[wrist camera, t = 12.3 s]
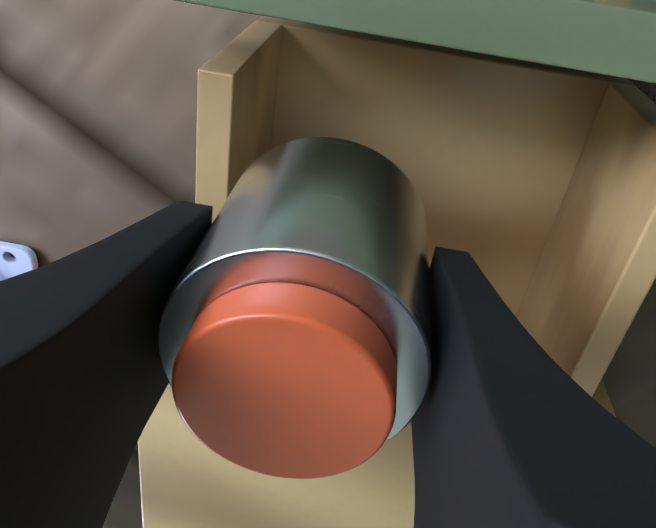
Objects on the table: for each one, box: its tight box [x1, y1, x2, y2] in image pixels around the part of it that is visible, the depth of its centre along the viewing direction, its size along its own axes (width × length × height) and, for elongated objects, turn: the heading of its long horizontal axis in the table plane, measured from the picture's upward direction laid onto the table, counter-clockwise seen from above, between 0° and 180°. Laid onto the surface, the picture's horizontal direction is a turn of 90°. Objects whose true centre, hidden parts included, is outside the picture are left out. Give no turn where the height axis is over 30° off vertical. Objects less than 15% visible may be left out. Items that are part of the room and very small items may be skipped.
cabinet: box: [138, 379, 617, 528], centre depth 23 cm, size 14×14×9 cm
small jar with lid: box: [157, 137, 432, 479], centre depth 10 cm, size 4×4×5 cm
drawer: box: [175, 0, 656, 397], centre depth 16 cm, size 18×12×7 cm
